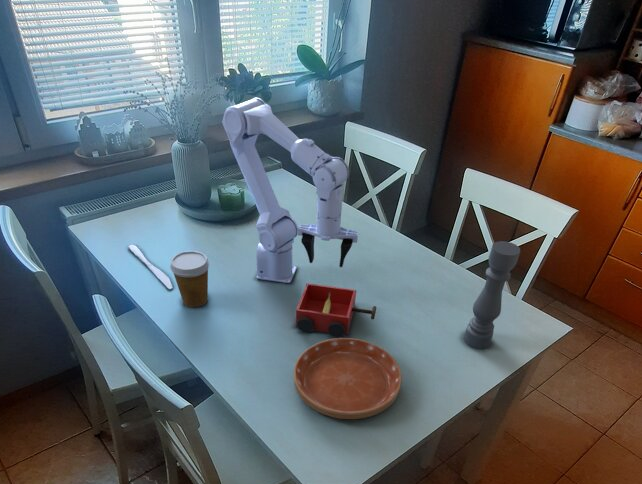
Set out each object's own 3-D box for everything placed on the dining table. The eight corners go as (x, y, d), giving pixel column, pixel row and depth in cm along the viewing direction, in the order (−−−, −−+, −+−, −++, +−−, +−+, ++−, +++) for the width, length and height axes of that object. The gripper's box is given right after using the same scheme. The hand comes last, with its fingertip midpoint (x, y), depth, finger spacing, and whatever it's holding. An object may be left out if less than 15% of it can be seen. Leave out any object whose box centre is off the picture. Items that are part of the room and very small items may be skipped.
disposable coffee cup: (220, 293, 135) (215, 253, 127) (203, 314, 129) (197, 273, 121) (187, 286, 138) (181, 246, 129) (169, 306, 131) (161, 266, 123)
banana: (325, 304, 131) (326, 291, 129) (332, 305, 131) (333, 292, 128) (319, 324, 125) (320, 310, 123) (326, 325, 125) (327, 311, 122)
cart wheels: (296, 331, 125) (296, 318, 122) (309, 297, 135) (309, 284, 132) (370, 342, 122) (371, 329, 119) (377, 307, 132) (379, 294, 129)
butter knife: (136, 242, 152) (127, 245, 151) (177, 286, 137) (166, 289, 135) (137, 244, 153) (127, 246, 151) (177, 288, 137) (167, 291, 136)
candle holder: (485, 352, 120) (517, 259, 103) (459, 342, 122) (486, 250, 105) (493, 337, 124) (525, 246, 107) (468, 328, 126) (495, 237, 109)
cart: (295, 327, 126) (296, 310, 122) (306, 299, 134) (306, 282, 130) (347, 335, 124) (348, 318, 120) (354, 307, 132) (356, 289, 128)
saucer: (320, 438, 100) (321, 426, 98) (278, 364, 116) (277, 352, 113) (420, 405, 107) (423, 393, 105) (367, 339, 123) (369, 327, 120)
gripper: (295, 217, 119) (294, 267, 128) (357, 224, 117) (352, 275, 126) (301, 203, 124) (301, 253, 133) (361, 210, 122) (356, 260, 131)
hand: (326, 263), depth 130 cm, fingers open, 7 cm apart
